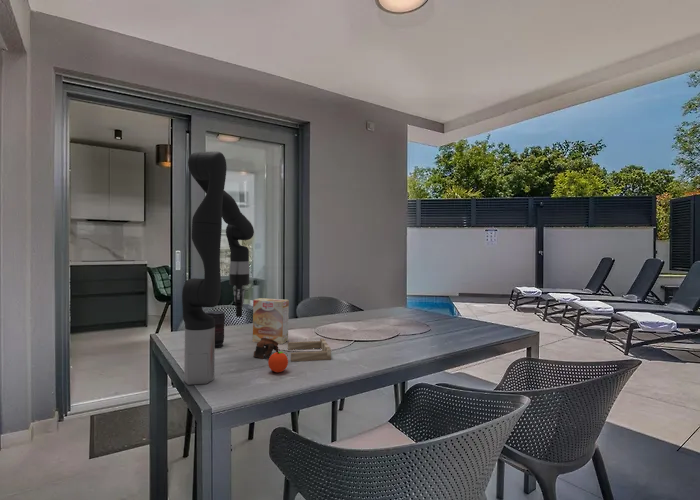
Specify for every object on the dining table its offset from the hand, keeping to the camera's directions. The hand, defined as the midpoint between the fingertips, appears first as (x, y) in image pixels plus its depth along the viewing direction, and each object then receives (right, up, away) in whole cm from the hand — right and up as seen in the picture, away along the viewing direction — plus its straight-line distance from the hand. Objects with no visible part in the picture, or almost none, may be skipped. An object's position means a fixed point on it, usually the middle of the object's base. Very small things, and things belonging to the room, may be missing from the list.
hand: (239, 316), depth 153 cm
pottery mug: (+10, -17, +3) cm, 20 cm away
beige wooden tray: (+26, -17, +6) cm, 31 cm away
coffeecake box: (+7, -16, +26) cm, 32 cm away
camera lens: (-15, -16, +16) cm, 27 cm away
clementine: (+19, -17, -16) cm, 30 cm away
